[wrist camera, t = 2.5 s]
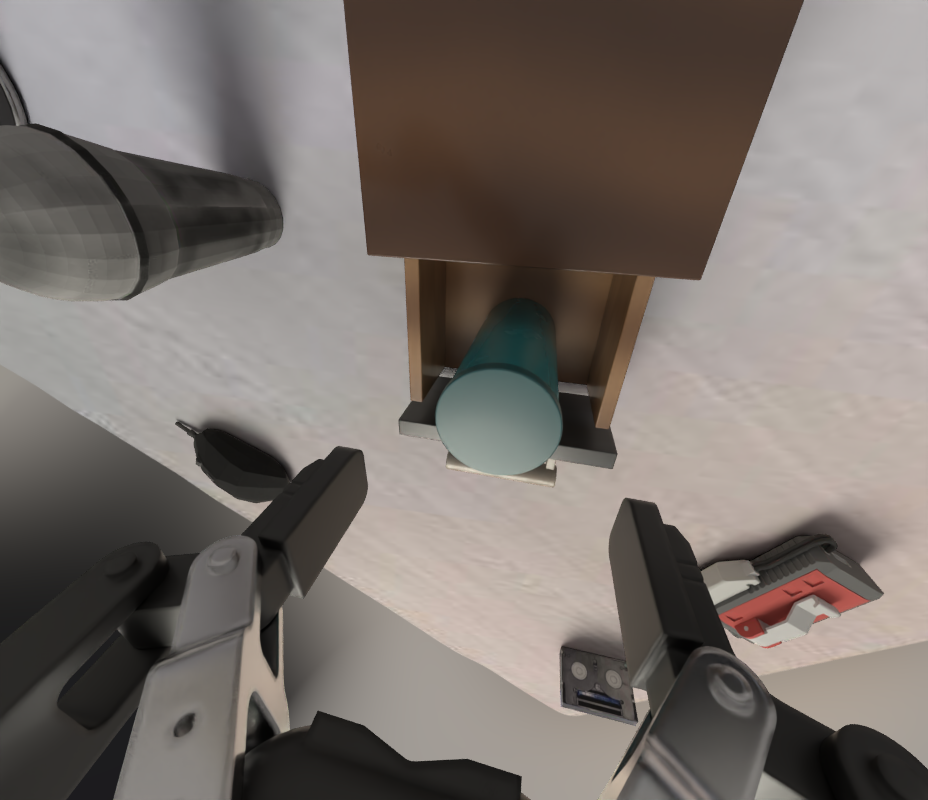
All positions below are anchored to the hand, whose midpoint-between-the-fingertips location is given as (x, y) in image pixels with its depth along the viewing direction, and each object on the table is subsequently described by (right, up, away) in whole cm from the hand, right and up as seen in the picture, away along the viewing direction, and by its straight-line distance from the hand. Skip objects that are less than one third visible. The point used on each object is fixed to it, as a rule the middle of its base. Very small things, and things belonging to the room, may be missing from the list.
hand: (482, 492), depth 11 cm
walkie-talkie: (+26, -15, +23) cm, 38 cm away
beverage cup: (-16, +17, +15) cm, 28 cm away
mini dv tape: (+16, -30, +34) cm, 49 cm away
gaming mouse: (-27, -3, +29) cm, 40 cm away
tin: (+3, +7, +13) cm, 15 cm away
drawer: (+3, +7, +14) cm, 17 cm away
